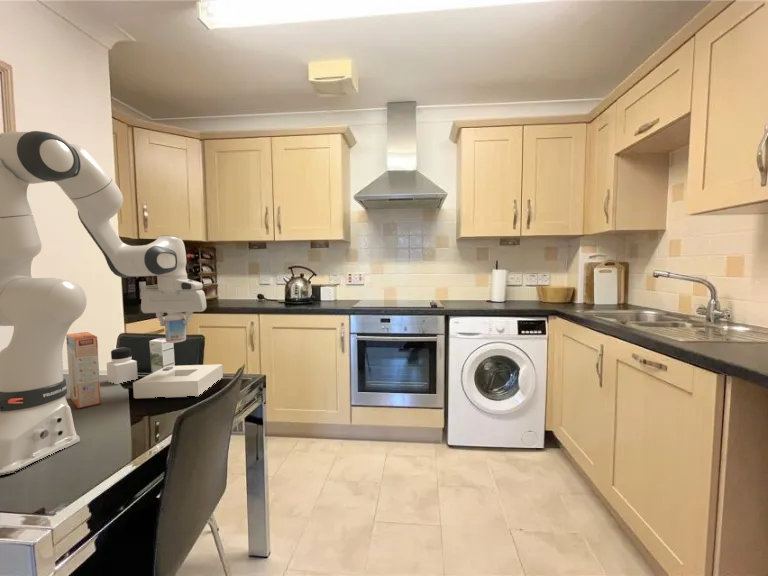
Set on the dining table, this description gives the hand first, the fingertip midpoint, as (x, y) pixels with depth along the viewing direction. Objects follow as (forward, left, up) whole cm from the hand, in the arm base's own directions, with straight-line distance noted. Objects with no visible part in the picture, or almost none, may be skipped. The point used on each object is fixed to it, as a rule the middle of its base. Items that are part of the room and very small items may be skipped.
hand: (175, 325), depth 128 cm
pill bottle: (0, 0, -6) cm, 6 cm away
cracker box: (-11, +23, -22) cm, 33 cm away
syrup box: (+13, +12, -22) cm, 28 cm away
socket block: (0, -1, -21) cm, 21 cm away
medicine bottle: (+10, +25, -22) cm, 34 cm away
